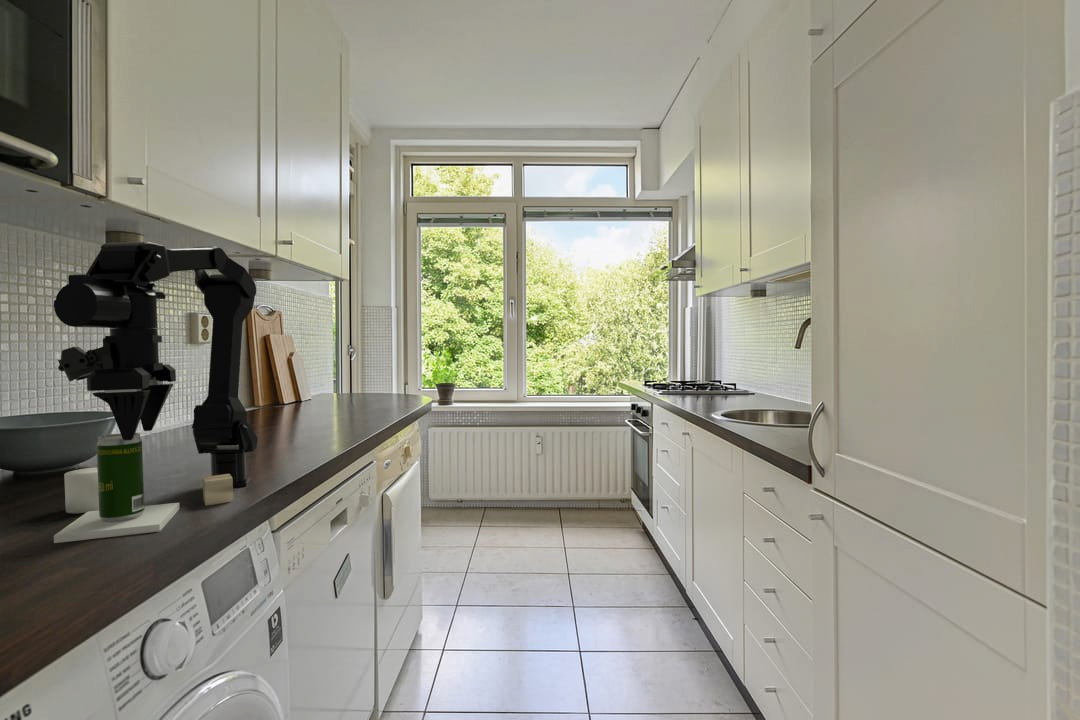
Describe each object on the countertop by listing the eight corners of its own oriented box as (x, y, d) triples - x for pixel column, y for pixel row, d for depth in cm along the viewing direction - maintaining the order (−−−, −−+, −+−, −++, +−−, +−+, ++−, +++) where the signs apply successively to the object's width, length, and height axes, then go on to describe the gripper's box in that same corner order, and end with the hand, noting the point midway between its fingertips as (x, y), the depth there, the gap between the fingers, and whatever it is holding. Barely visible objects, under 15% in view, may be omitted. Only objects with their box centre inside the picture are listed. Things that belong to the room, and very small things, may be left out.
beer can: (152, 511, 87) (149, 432, 87) (131, 522, 82) (128, 437, 81) (114, 512, 87) (111, 433, 86) (90, 524, 81) (87, 439, 81)
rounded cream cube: (74, 505, 95) (73, 469, 95) (117, 501, 97) (116, 465, 97) (59, 515, 90) (57, 476, 89) (105, 510, 92) (104, 473, 92)
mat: (88, 518, 88) (88, 511, 88) (179, 508, 92) (179, 502, 92) (53, 543, 76) (53, 535, 76) (159, 531, 81) (159, 524, 81)
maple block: (203, 500, 97) (202, 477, 97) (230, 496, 99) (229, 473, 99) (205, 506, 94) (204, 481, 94) (233, 501, 96) (232, 477, 96)
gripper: (92, 330, 90) (96, 430, 91) (34, 327, 73) (40, 450, 73) (174, 330, 94) (178, 425, 94) (139, 326, 76) (143, 444, 77)
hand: (138, 435), depth 85 cm, fingers open, 9 cm apart
